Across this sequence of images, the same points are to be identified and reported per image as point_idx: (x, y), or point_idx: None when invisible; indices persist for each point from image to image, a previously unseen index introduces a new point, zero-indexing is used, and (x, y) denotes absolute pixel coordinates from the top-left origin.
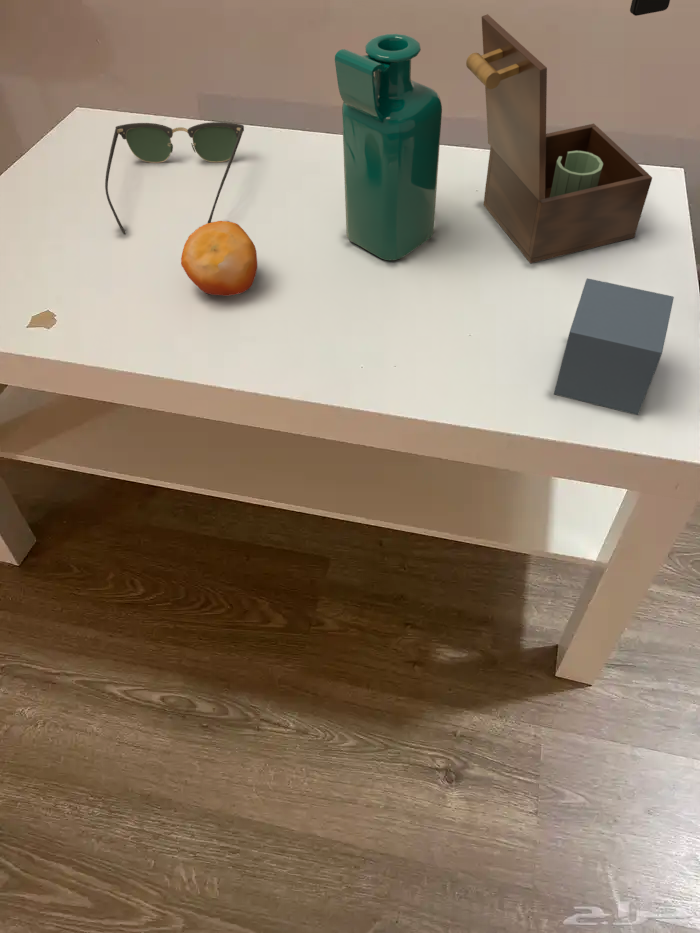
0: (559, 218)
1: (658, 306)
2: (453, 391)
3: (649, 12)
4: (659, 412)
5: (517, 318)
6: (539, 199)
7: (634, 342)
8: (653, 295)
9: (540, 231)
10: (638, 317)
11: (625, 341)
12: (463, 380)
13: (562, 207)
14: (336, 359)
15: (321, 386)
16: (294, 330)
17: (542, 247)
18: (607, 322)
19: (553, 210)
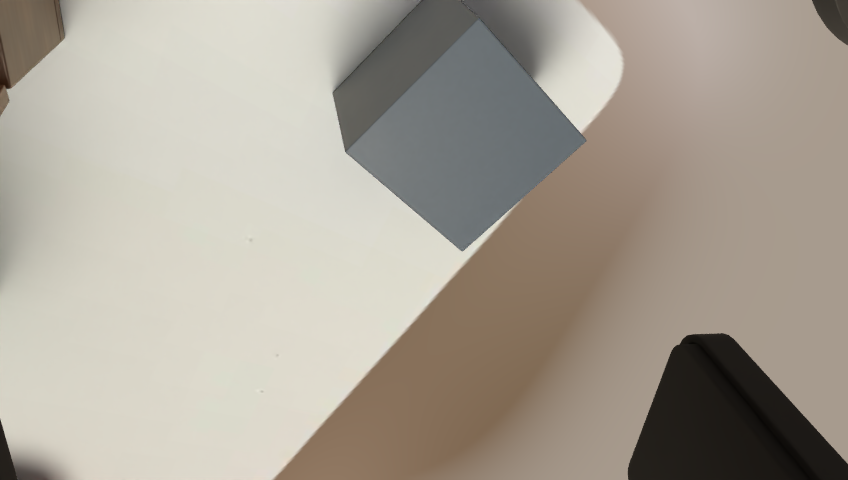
0: (20, 6)
1: (487, 69)
2: (359, 303)
3: (12, 465)
4: (545, 50)
5: (236, 149)
6: (7, 101)
7: (541, 170)
8: (456, 58)
9: (37, 51)
10: (493, 126)
11: (531, 182)
12: (344, 284)
13: (7, 11)
14: (232, 414)
15: (278, 438)
16: (148, 448)
17: (50, 22)
18: (475, 184)
19: (13, 38)
